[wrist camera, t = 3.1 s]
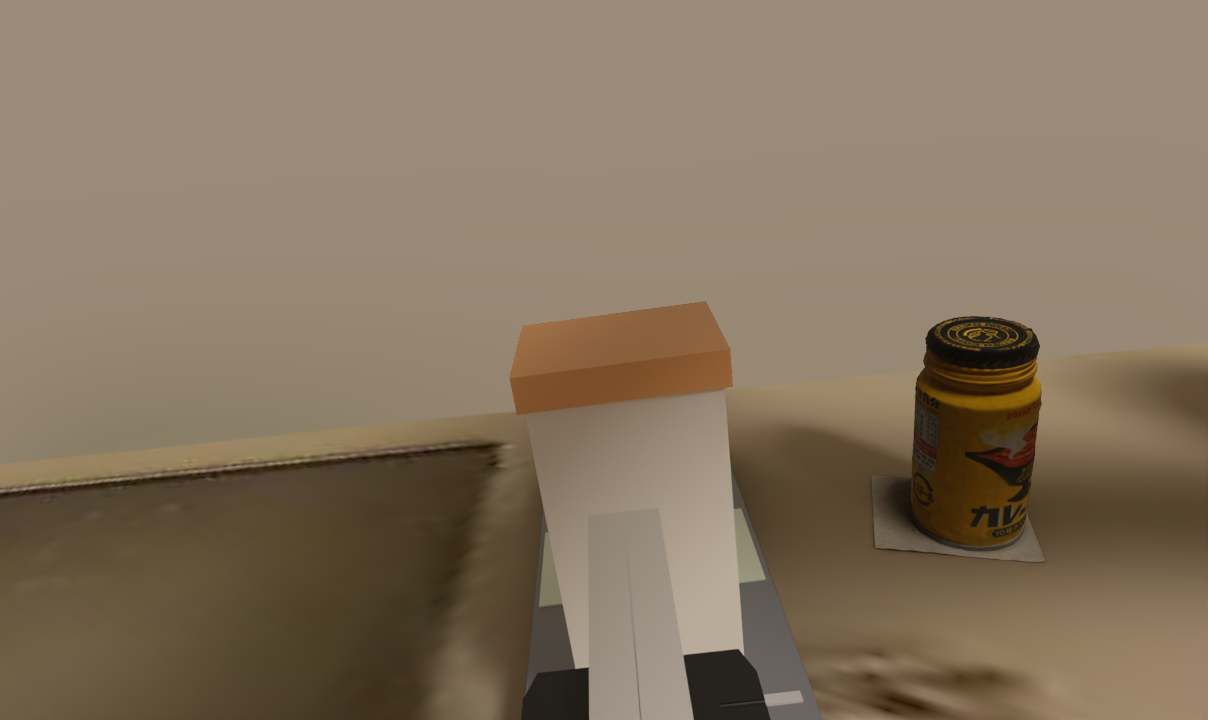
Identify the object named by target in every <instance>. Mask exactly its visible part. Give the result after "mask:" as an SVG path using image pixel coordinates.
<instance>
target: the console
mask: <svg viewBox="0 0 1208 720" xmlns="http://www.w3.org/2000/svg"><path fill="white" fill-rule="evenodd" d="M730 466H731V465H730ZM731 480H732V493H733V507H734V521H735V535H736V549H737V562H738V576H739V590H740V604H741V617H742V631H743V645H744V656H745V658H746V659H747V660H748V661H749V662H750V663H751V665H752V666H753V667H754V668H755V669H756V671H757V673H758V677H759V680H760V684H761V687H762V691H763V694H764V698H765V703H766V705H767V708H768V712H769V715H770V719H771V720H823V719H822V716H821V714H820V711H819V708H818V705H817V703H816V700H815V697H814V694H813V691H812V689H811V686H810V683H809V680H808V678H807V675H806V672H805V669H804V667H803V664H802V661H801V658H800V656H799V653H798V650H797V647H796V645H795V642H794V639H793V636H792V634H791V631H790V628H789V625H788V622H787V620H786V617H785V614H784V611H783V609H782V606H781V603H780V600H779V598H778V595H777V592H776V589H775V587H774V584H773V581H772V578H771V576H770V573H769V570H768V567H767V564H766V562H765V559H764V556H763V553H762V551H761V548H760V545H759V542H758V540H757V537H756V534H755V531H754V529H753V526H752V523H751V520H750V518H749V515H748V512H747V509H746V507H745V504H744V501H743V498H742V495H741V493H740V490H739V487H738V484H737V482H736V479H735V476H734V473H733V471H732V468H731ZM569 669H575V664H574V659H573V654H572V649H571V644H570V639H569V634H568V629H567V624H566V619H565V614H564V609H563V604H562V598H561V593H560V588H559V583H558V578H557V573H556V568H555V563H554V558H553V553H552V548H551V543H550V538H549V533H548V528H547V523H546V518H545V513H544V508H543V513H542V523H541V534H540V544H539V555H538V565H537V576H536V586H535V597H534V607H533V618H532V628H531V639H530V649H529V660H528V670H527V681H526V691H525V695H526V693H527V691H528V689H529V688H530V686H531V684H532V682H533V680H534V678H535V677H536V675H537V673H542V672H551V671H560V670H569Z"/></svg>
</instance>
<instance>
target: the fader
mask: <svg viewBox="0 0 1208 720" xmlns="http://www.w3.org/2000/svg"><path fill="white" fill-rule="evenodd" d="M510 383H511V387H512V392H513V397H514V402H515V407H516V412H517V415H520V414H525V417H526V422H527V427H528V432H529V437H530V442H531V447H532V452H533V457H534V462H535V467H536V472H537V478H538V483H539V488H540V493H541V498H542V503H543V508H544V513H545V518H546V523H547V528H548V533H549V538H550V543H551V548H552V553H553V558H554V563H555V568H556V573H557V578H558V583H559V588H560V593H561V598H562V604H563V609H564V614H565V619H566V624H567V629H568V634H569V639H570V644H571V649H572V654H573V659H574V664H575V669H578V668H587V667H589V602H588V516H592V515H601V514H609V513H618V512H626V511H635V510H644V509H652V508H659V513H660V519H661V525H662V531H663V537H664V543H665V549H666V555H667V561H668V567H669V573H670V579H671V585H672V591H673V597H674V603H675V609H676V615H677V621H678V627H679V634H680V640H681V646H682V652H683V655H688V654H697V653H706V652H715V651H724V650H732V649H739V650H740V652H741V653H742V654H743V655H744V645H743V631H742V617H741V604H740V590H739V576H738V562H737V549H736V535H735V521H734V507H733V493H732V480H731V466H730V452H729V438H728V425H727V411H726V397H725V388H727V387H732V386H733V385H732V370H731V355H730V348H729V346H728V345H727V342H726V340H725V338H724V336H723V334H722V332H721V330H720V328H719V326H718V324H717V322H716V321H715V319H714V316H713V315H712V313H711V311H710V309H709V307H708V305H707V303H706V302H698V303H690V304H683V305H675V306H668V307H660V308H653V309H645V310H638V311H631V312H623V313H616V314H608V315H601V316H593V317H586V318H579V319H571V320H563V321H556V322H549V323H541V324H534V325H526V326H522V329H521V333H520V337H519V341H518V345H517V350H516V354H515V358H514V362H513V366H512V370H511V375H510Z"/></svg>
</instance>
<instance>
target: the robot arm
mask: <svg viewBox="0 0 1208 720" xmlns="http://www.w3.org/2000/svg"><path fill="white" fill-rule="evenodd" d="M588 602H589V667H587V668H578V669H569V670H560V671H551V672H542V673H537V675H536V677H535V678H534V680H533V682H532V684H531V686H530V688H529V689H528V691H527V693H526V695H525V697H524V699H523V707H522V717H521V720H771V719H770V715H769V712H768V708H767V705H766V703H765V698H764V694H763V691H762V687H761V684H760V680H759V677H758V673H757V671H756V669H755V668H754V667H753V666H752V665H751V663H750V662H749V661H748V660H747V659H746V658H745V656H744V655H743V654H742V653H741V652H740V650H739V649H732V650H724V651H715V652H706V653H697V654H688V655H683V652H682V646H681V640H680V634H679V627H678V621H677V615H676V609H675V603H674V597H673V591H672V585H671V579H670V573H669V567H668V561H667V555H666V549H665V543H664V537H663V531H662V525H661V519H660V513H659V508H652V509H644V510H635V511H626V512H618V513H609V514H601V515H592V516H588Z"/></svg>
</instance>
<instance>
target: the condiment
mask: <svg viewBox="0 0 1208 720" xmlns="http://www.w3.org/2000/svg"><path fill="white" fill-rule="evenodd" d="M926 344H927V346H926V351H927V352H926V354H925V356H924V360H923V362H924V365H925V368H924V369H923V370H922V371H921V373H920V375H919V376H918V378H917V382H916V388H915V390H916V395H915V421H914V442H913V456H912V478H902V477H894V476H888V475H882V476H881V475H871V481H872V503H873V517H874V518H873V521H874V538H875V548H882V549H887V548H889V549H897V550H905V551H907V550H915V551H921V552H936V553H941V554H951V555H957V556H965V557H978V558H989V559H1000V560H1018V561H1026V562H1042V561H1046V560H1045V558H1044V555H1043V553H1042V550H1041V547H1040V546H1039V542H1038V540H1037V538H1036V535H1035V533H1034V530H1033V527H1032V525H1031V522H1030V519H1029V516H1028V513H1027V508H1028V499H1029V494H1030V487H1031V476H1032V470H1033V462H1034V456H1035V441H1036V433H1037V425H1038V420H1039V419H1038V417H1039V410H1040V407H1041V405H1042V403H1041V392H1042V391H1041V384H1040V383H1039V381H1038V379H1037V378H1036V377H1035V374H1036V372H1037V362H1036V360H1037V354H1038V351H1039V348H1040V345H1039V342H1038V339H1037V336H1036V335H1035V334H1034V333H1033V331H1032V329H1031V328H1027V327H1025V326H1024V325H1022V324H1020V323H1017V322H1014V321H1008V320H1005V319H1001V318H991V317H977V316H972V317H971V316H970V317H959V318H953V319H949V320H947V321H943V322H941V323H939V324H937V325H935V326H934V327H933V328H932V329H930V330H929V332H928V335H927V337H926ZM907 527H909V528H912V529H913V531H911V530H909V529H907ZM914 531H918V532H919V534H917V533H915V532H914Z"/></svg>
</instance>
